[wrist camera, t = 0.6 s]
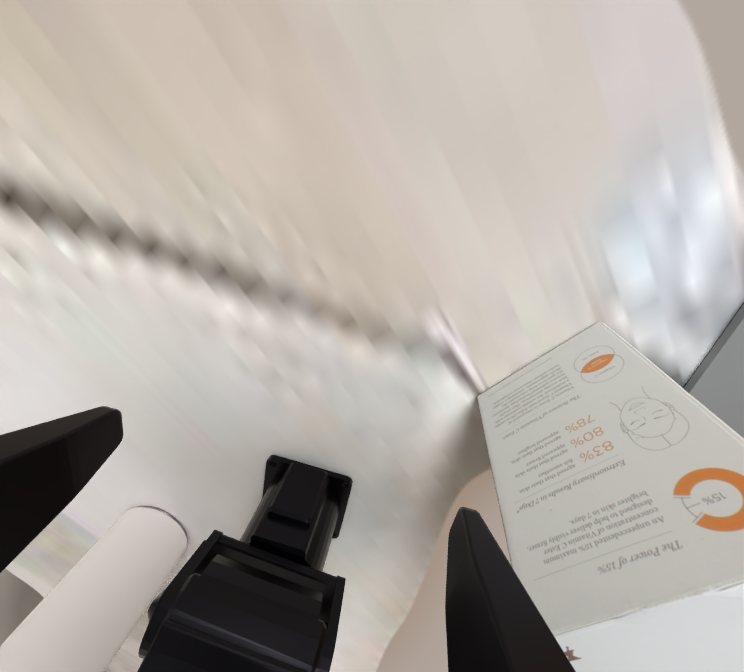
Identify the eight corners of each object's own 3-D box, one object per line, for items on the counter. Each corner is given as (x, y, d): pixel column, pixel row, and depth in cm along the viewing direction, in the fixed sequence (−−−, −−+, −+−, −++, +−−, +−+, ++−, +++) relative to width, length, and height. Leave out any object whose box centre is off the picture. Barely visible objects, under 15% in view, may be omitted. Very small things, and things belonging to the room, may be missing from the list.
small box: (534, 461, 23) (637, 754, 11) (474, 394, 22) (519, 646, 10) (663, 398, 20) (989, 710, 8) (601, 316, 19) (883, 546, 7)
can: (187, 513, 31) (54, 691, 20) (192, 559, 34) (78, 739, 23) (119, 495, 32) (-45, 661, 21) (130, 543, 34) (-10, 711, 23)
